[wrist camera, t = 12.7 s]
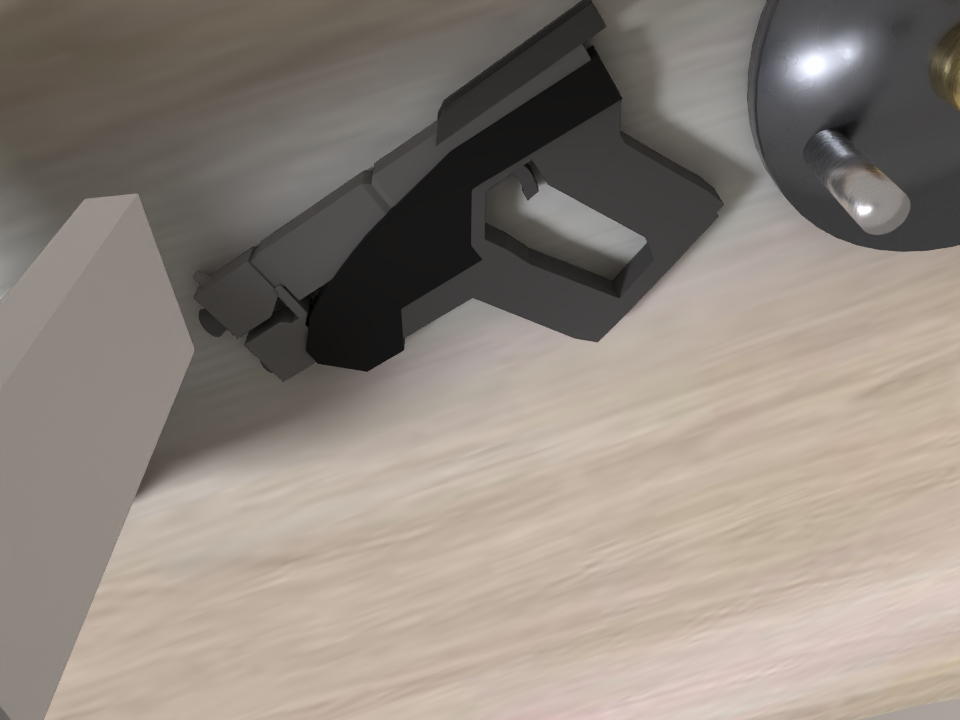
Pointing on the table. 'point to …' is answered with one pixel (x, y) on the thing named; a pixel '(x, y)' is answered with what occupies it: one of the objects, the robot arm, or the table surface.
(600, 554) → the table surface
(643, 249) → the pistol
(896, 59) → the carrier
